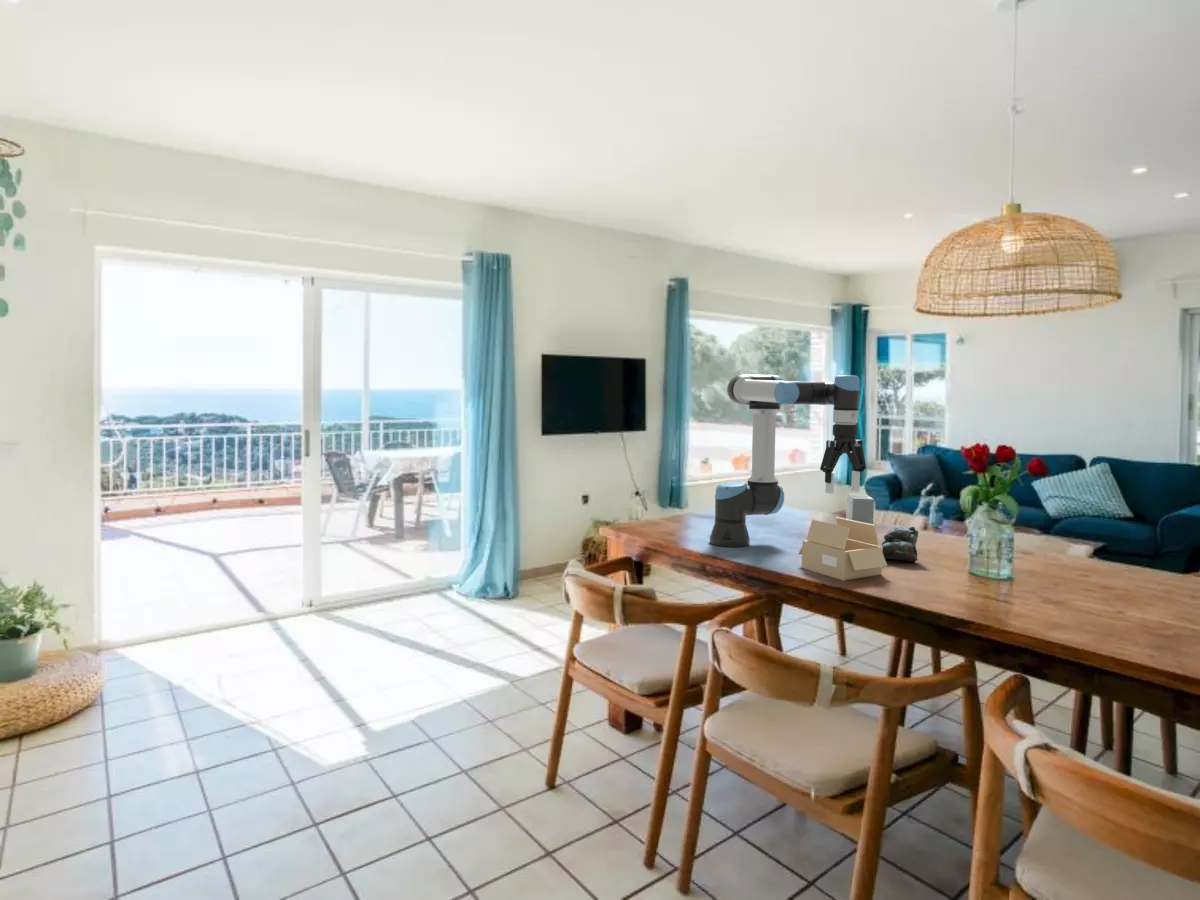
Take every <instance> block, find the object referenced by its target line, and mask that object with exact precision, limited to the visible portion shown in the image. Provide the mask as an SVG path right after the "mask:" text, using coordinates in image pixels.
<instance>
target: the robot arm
mask: <svg viewBox="0 0 1200 900" xmlns="http://www.w3.org/2000/svg"><path fill="white" fill-rule="evenodd" d="M726 390H727V391H726V393H727V395H728V397H729V399H730V400H731V401H733V402H734V403H736V404H738V405H746V406H747V405H748V409H749V411H750V412H751V413H752V440H751V447H752V449H751V475H750V477H749V478H748V479H747V482H745V481H739V480H738V481H726V482H722V483H720V484H718V485H717V486H716V488H715V494H714V497H715V499H714V500H715V507H714V525H713V526H712V530H711V533H710V535H709V543H710V544H711V545H714V546H719V547H727V548H730V547H731V548H739V547H740V548H741V547H747V546H750V544H751V540H750V534H749V531H748V528H747V524H746V523H747V517H746V516H759V515H764V516H769V515H774V514H777V513H778V512H780V510H781V509H782V507H783V505H784V502H785V491H784V488H783V487H782V485H780V483H779V480H778V479H777V478H776V476H775V468H776V467H775V463H776V460H775V459H776V456H775V455H776V426H777V425H776V422H777V421H776V420H777V419H776V418H777V417H776V416H777V413H778V412H779V411H780V410H781V406H782V405H789V406H790V405H816V406H817V405H818V406H819V405H820V406H821V405H822V406H826V405H827V406H828V405H829V406H831V405H832V406H833V415H832V417H833V418H832V423H834V424H833V425H832V436H834V439H833V440H831V439H830V440H828V439H827V440H826V442H825V451H824V453H823V457H822V461H821V464H820V468H819V470H820V471H822V472H823V473H824V483H825V494H831V495H832V494H834V493H835V492H834V491H835V472H834V470H835V468H836V466H837V464H838V462H839V460H840V457H841V456H842V455H844V454H846V455H847V457H848V459H849V461H850V464H851V465H852V469H853V470H852V471H851V480H850V481H851V485H850V490H851V492H856V493H859V492H860V483H861V482H860V481H861V477H862V473H863V472H865V470H867V463H866V459H865V455H864V448H863V443H864V442H863V440H862V439H856V437H857V436H858V429H859V428H858V427H859V426H858V423H859V404H860V403H859V402H860V391H861V387H860V377H859V376H857V375H854V374H852V375H851V374H849V375H843V374H841V375H840V374H839V375H836V376H835V377H834V381H799V380H798V381H797V380H783V378H782V377H781V376H779V375H777V374H776V375H775V374H769V373H768V374H761V373H758V374H755V373H754V374H751V373H750V374H749V373H743V374H738V375H735V376H734V377H733V378H731V379H730V380H729V382H728V384H727V387H726Z"/></svg>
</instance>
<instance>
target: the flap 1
mask: <svg viewBox="0 0 1200 900" xmlns="http://www.w3.org/2000/svg"><path fill="white" fill-rule="evenodd" d="M849 531H850V528H848V527H844V526H839V525H837V524H834V523H829V522H825V521H821V520H817V519H811V523H810V526H809V529H808V533H807V537H806V540H809V541H812V542H816V543H820V544H824V545H828V546H832V547H835V548H839V549H843V550H844V549H845V545H846V542H847V538H848V534H849Z"/></svg>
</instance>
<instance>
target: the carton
mask: <svg viewBox="0 0 1200 900" xmlns="http://www.w3.org/2000/svg"><path fill="white" fill-rule="evenodd" d="M880 546H881V545H878V546H877V545H873V544H868V543H864V542H860V541H855V540H851V539H847V542H846V545H845V549H844V550H843V549H839V548H835V547H832V546H828V545H824V544H820V543H816V542H812V541H809V540H807V539H805V540H802V546H801V548H800V550H799V551H798V555H799V556H800V555H801V568H802V569H804V570H808V571H811V572H815V573H818V574H821V575H825V576H828V577H832V578H834V579H837V580H840V581H842V582H843V581H848V580H849V581H850V580H856V579H863V578H868V577H877V576H882V574H883V573H882V572H883V570H882V569H883V567H884V568H885V567H888V564H887V561H886V559H885V558H884V556H883V547H880Z"/></svg>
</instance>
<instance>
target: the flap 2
mask: <svg viewBox="0 0 1200 900" xmlns="http://www.w3.org/2000/svg"><path fill="white" fill-rule="evenodd" d="M835 518H836V519H835V521H836V523H837V524H836V525H839V526H844V527H848V528H850V531H849V534H848V539H852V540H857V541H861V542H865V543H869V544H872V545H876V546H880V545H879V539H878V533H877V529H876V525H875V524H873V525H872V524H867V523H863V522H858V521H853V520H848V519H846V518H843V517H840V516H836V517H835Z"/></svg>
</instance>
